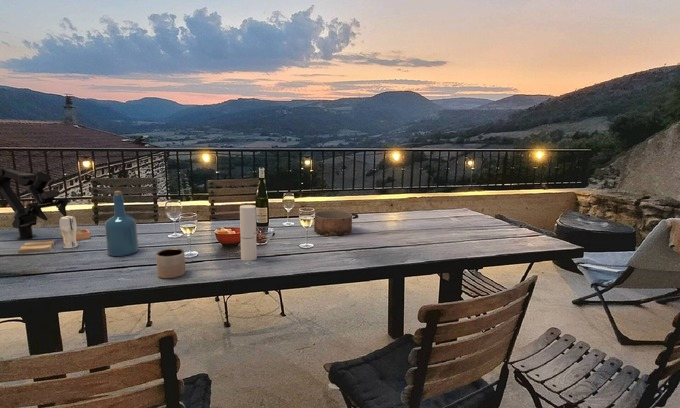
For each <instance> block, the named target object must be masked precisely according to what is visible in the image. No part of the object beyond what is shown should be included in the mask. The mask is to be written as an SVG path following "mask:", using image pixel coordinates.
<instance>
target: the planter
mask: <svg viewBox="0 0 680 408" xmlns="http://www.w3.org/2000/svg"><path fill="white" fill-rule="evenodd" d="M155 257H156V258H155V259H156V271H157V272H156V273H157V276H158V277H159V278H161V279H167V280H168V279H175V278H179V277H181V276H183V275H184V274H186V258H185V250H184V249H181V248H166V249H162V250H159V251H157V252H156V253H155Z"/></svg>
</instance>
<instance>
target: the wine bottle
mask: <svg viewBox="0 0 680 408" xmlns="http://www.w3.org/2000/svg"><path fill="white" fill-rule="evenodd" d="M112 198H113V200H112V202H113V206H114V207H113V209H114V210H113V211H114V215H113V216H111V217H109V218H108V219H107V220H105V224H104V229H105V239H106V240H105V241H106V250H107V254H108V255H109V256H112V257H125V256H131V255H134V254H135V253H136V254H137V252H138V251H139V241H138V238H139V237H138V229H137V228H138V227H137V222H136V220H135V217H134V216H132V215H130V214H128V213H126V210H125V202H124V201H125V200H124V196H123V193H122V191H121V190H115V191H114V194H113V197H112Z"/></svg>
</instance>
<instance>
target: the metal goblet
mask: <svg viewBox="0 0 680 408" xmlns="http://www.w3.org/2000/svg"><path fill="white" fill-rule="evenodd" d="M58 220H59V221H58V225H59V226H58V227H59V232H60V234H61V237H62V241H63V244H62V248H64V249H73V248H77V247H78V245H79V244H78V241H76V231H77V230H78V227H77V226H78V224H77V220H76V217H75V215H67V216H60V217H58Z"/></svg>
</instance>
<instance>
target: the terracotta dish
mask: <svg viewBox="0 0 680 408" xmlns="http://www.w3.org/2000/svg"><path fill="white" fill-rule="evenodd" d="M78 231H81V232H82V233H79V234H76V241H77V242H78V241H83V240H89V239H92V237H91V232H90V230H89V229H88V228H82V229H77V231H76V232H78Z"/></svg>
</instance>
